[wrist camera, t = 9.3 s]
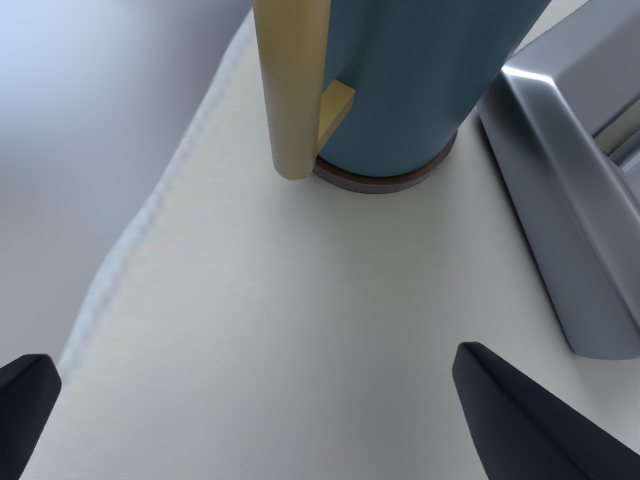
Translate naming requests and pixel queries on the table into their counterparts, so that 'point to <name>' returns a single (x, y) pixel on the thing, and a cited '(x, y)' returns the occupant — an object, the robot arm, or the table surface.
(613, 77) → the emblem
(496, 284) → the table surface
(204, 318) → the table surface
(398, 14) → the teal coffee mug
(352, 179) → the brown base ring
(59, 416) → the table surface
